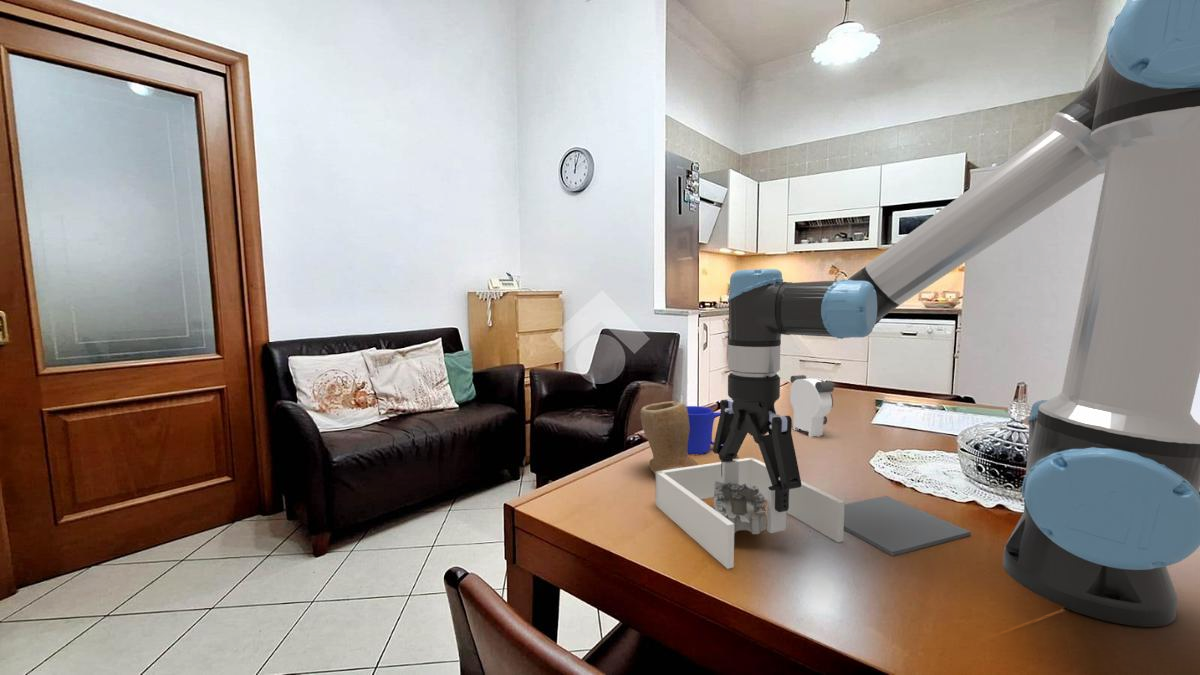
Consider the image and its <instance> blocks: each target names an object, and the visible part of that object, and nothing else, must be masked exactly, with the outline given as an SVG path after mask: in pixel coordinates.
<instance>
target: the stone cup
mask: <svg viewBox="0 0 1200 675" xmlns="http://www.w3.org/2000/svg"><path fill="white" fill-rule="evenodd" d="M640 421H641V422H640V423H641V426H642V430H643V432H644V435H645V437H646V439H647V441H648V444H649V447H650V450H651V453H652V459H650V460H649V462H648V463H649V464H648V465H649V469H650V470H651V471H652V473H654V476H656V471H663V470H670V469H676V468H683V467H690V466H697V465H700V464H699V463H698V462H697V461H696V460H695V459H693V458H691V457H689V454H688V453H687V446H688V438H689V431H690V426H689V417H688V410H687V408H686V404H685V403H684V402H678V401H674V400H672V401H663V402H657V403H656V402H655V403H650V404H647V405H644V406H643V407H642V408H641V409H640Z"/></svg>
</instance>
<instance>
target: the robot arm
mask: <svg viewBox="0 0 1200 675" xmlns="http://www.w3.org/2000/svg"><path fill="white" fill-rule="evenodd" d="M1105 45H1106V46H1105V48H1106V51H1105V54H1104V60H1103V62H1102V67H1101V70H1100V72H1099V73H1098V75H1097V76H1096V77H1095V78H1094V79H1093V81H1092V82H1091V83H1090V84H1089V85H1088V86H1087V87H1086V89H1084V90H1083V91H1082V92H1081V93H1080V94H1079V95H1078V96H1077V97H1076V98H1074V99H1073V100H1072V101H1071V102H1070V103H1068V104H1067V105H1065V107H1063V108H1062V109H1061V110H1059V111H1058V112H1056V113H1055V114H1054V115H1053V118H1052V122H1051V126H1050V128H1049V129H1048V130H1047V131H1046V132H1044V133H1042V134H1041V135H1040V136H1039V137H1037V138H1036V139H1035V140H1033V141H1032V142H1031V143H1029V144H1028V145H1027V146H1025V147H1024V148H1023V149H1021V150H1020V151H1019V152H1017V153H1016V154H1015V155H1014V156H1012V157H1010V158H1009V159H1007V160H1006V161H1004V163H1003V164H1001V165H1000V166H998V167H997V168H995V169H994V170H993V171H991V172H990V173H989V174H987V175H986V176H985V177H984V178H982V179H981V180H979V181H978V182H977V183H976V184H973V186H972V187H970V188H968V190H965V192H963V193H962V194H960V195H959V196H958V197H957V198H955V199H954V200H952V201H951V202H950V203H948V204H947V205H946V206H944V207H942V209H941V210H939V211H938V212H936V213H935V214H934V215H932V216H931V217H929V218H928V219H927V220H925V221H924V222H923V223H922V224H920V225H918V226H917V227H916V228H915V229H913V230H912V231H911V232H909V233H908V234H907V235H905V236H904V237H902V238H901V239H900V240H899V241H897V242H896V243H895V244H893V245H892V246H890V247H889V248H887V250H885V251H884V252H881V254H880V255H878V256H877V257H876V258H874V259H873V260H871V261H870V262H869V263H868V264H866V265H865V266H864V267H863V268H861V269H860V270H858V271H857V272H856V273H854V274H853V275H851V276H850V277H849V278H848V279H838V280H820V281H818V280H817V281H800V282H791V281H784V279H783V274H782V271H781V270H779V269H776V268H759V269H758V268H757V269H755V268H754V269H753V268H752V269H739V270H736V271H734V272H733V273H732V274H731V275H730V276H729V278H730V279H729V288H728V298H727V303H728V344H727V369H728V370H729V371H730V373H729V375H727V396H728V397H729V399H721V400H720V405H719V406H720V407H719V409H720V412H719V413H720V416H719V418H718V422H717V427H716V433H715V436H714V441H713V442H714V445H712V452H713V453H714V454H717V455H718V459H719V460H720V462H721V476H722V483H725V484H728V483H732V484H739V461H737V459H740V457H739V455H738V453H739V451H740V449H741V447H742V445H743V443H744V441H745V439H746V437H747V435H748V434H749V435H750V436H752V438H753V441H754V442H755V443H756V444H758V447H759V450H760V453H761V455H762V459H763V461H764V462H763V463H765V465H766V468H767V471H768V474H769V477H770V480H771V483H772V486H770V487H768V501H767V510H766V512H767V513H766V519H767V524H766V531H767V532H768V533H769V534H774V533H777V532H783V531H786V530H787V512H786V511H788V508H789V490H790V489H794V488H799V487H801V481H802V480H801V479H802V478H801V475H800V474H801V473H800V470H799V469H800V468H799V464H798V460H797V454H796V449H795V444H794V440H793V434H792V428H793V420H792V417H791V415H781V414H780V415H779V414H777V411H776V409H775V403H776V401H778V400H779V399H780V396H781V392H780V391H781V377H780V376H779V375H778V374H777V373H778V372H780V371H781V345H782V343H781V342H782V340H781V338H782V335H784V336H792V335H793V336H807V337H808V336H809V337H823V338H824V337H826V338H828V337H829V338H836V339H841V340H842V339H850V338H865V337H868V336H870V335H871V333H873V329H874V328H875V326H876V325H877V324H879V322H880V321H881V320H882V319H883V318H884V317H885V316H886V315H888V314H890V313H891V312H893V311H894V310H896V309H897V308H898V307H899V306H900V305H903V304H904V303H905V302H907V301H908V300H910V299H911V298H913V297H914V296H916V295H917V294H919V293H920V292H922V291H924V290H925V289H926V288H928V287H930V286H931V285H933V284H934V283H936V282H938V281H939V280H940V279H943V277H945V276H946V275H948V274H949V273H951V272H952V271H954V270H955V269H957V268H958V267H960V266H962V265H963V264H964V263H966V262H967V261H969V260H971V259H972V258H974V257H975V256H977V255H979V254H980V253H981V252H983V251H984V250H986V249H987V248H990V247H991V246H992V245H994V244H996V243H997V242H999V241H1000V240H1002V239H1003V238H1004V237H1006V236H1007V235H1009V234H1010V233H1012V232H1014V231H1015V230H1017V229H1018V228H1019V227H1020V228H1021V226H1023V225H1025V224H1026V223H1028V222H1029V221H1030V220H1032V219H1034V218H1035V217H1037V216H1038V215H1040V214H1041V213H1043V212H1044V211H1045V210H1047V209H1049V208H1050V207H1052V206H1053V205H1055V204H1056V203H1058V202H1060V201H1062V200H1063V199H1064V198H1065V197H1067V196H1069V195H1070V194H1072V193H1074V192H1075V191H1076V190H1078V189H1079V188H1081V187H1082V186H1084V185H1085V184H1088V182H1090V181H1092V180H1093V179H1095V178H1096V177H1098V176H1099V175H1102V174H1103V175H1104V177H1103V181H1102V184H1101V190H1100V197H1099V202H1098V207H1097V211H1096V217H1095V222H1094V225H1093V226H1094V227H1093V232H1092V236H1091V243H1090V246H1089V250H1088V251H1089V253H1088V257H1087V258H1088V259H1087V262H1086V268H1085V273H1084V278H1083V283H1082V288H1081V293H1080V297H1079V301H1078V302H1079V303H1078V307H1077V308H1078V309H1077V313H1076V319H1075V323H1074V329H1073V334H1072V339H1071V344H1070V349H1069V354H1068V358H1067V364H1066V368H1065V369H1066V370H1065V373H1064V374H1065V375H1064V378H1063V385H1062V389H1061V392H1060V393H1059V394H1058V395H1057V396H1055V397H1052V398H1050V399H1049V400H1048V399H1045V400H1043V399H1042V400H1041V399H1040V400H1038V401H1035V402H1034V403H1033V404H1032V406H1031V409H1030V416H1028V418H1027V423H1028V425H1029V428H1028V429H1029V430H1028V441H1027V444H1028V446H1027V457H1026V469H1025V475H1024V478H1023V482H1022V484H1021V495H1022V498H1024V499H1023V504H1024V505H1023V513H1022V514H1021V517H1020V519H1019V520H1018V522H1017V524H1016V525H1015V526H1014V529H1013V531H1012V533H1011V534H1010V536H1009V538H1008V540H1007V542H1006V544H1005V546H1004V547H1003V555H1002V567H1003V568H1004V570H1005V572H1006V573H1007V574H1008V575H1009V576H1010V577H1011V578H1012V579H1013V581H1014V580H1015V581H1016V582H1017V583H1018V584H1019V585H1021V586H1023V587H1024V588H1026V589H1028V590H1029V591H1031V592H1033V593H1034V594H1036V595H1038V596H1039V597H1043V598H1044V599H1047V600H1049V601H1051V602H1052V603H1055V604H1059V605H1060V606H1063V607H1064V609H1066V610H1069V611H1071V612H1075V613H1077V614H1081V615H1083V616H1084V615H1085V616H1088V617H1090V618H1095V619H1098V620H1100V621H1101V620H1102V621H1105V622H1109V623H1114V624H1121V625H1126V626H1133V627H1145V628H1151V627H1152V628H1153V627H1154V628H1155V627H1163V626H1167V625H1171V624H1172V623H1173V622H1174V621H1175V620H1176V619H1177V611H1178V610H1177V609H1178V595H1177V592H1176V589H1175V586H1174V583H1173V580H1172V578H1171V575H1170V572H1169V569H1168V566H1172V565H1175V564H1177V563H1179V562H1182V561H1183V560H1185V559H1187V558H1188V557H1190V556H1192V555H1193V554H1194V553H1195V552H1197V551H1198V549H1199V548H1200V423H1199V422H1198V421H1196V419H1194V417H1193V416H1192V414H1191V412H1192V408H1193V407H1192V406H1193V403H1194V399H1195V394H1196V390H1197V387H1198V386H1197V385H1198V382H1199V378H1200V0H1127V2H1126V3H1125V5H1124V6H1123V7H1122V9H1121V11H1120V12H1119V13H1118V14H1117V15H1116V16H1115V20H1114V22H1113V23H1112V25H1111V26H1110V27H1109V30H1108V33H1107V38H1106V44H1105ZM721 444H723V445H721ZM720 445H721V446H720ZM733 460H734V461H733ZM779 477H780V480H779Z"/></svg>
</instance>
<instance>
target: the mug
mask: <svg viewBox="0 0 1200 675" xmlns="http://www.w3.org/2000/svg"><path fill="white" fill-rule="evenodd" d="M685 406H686V405H685ZM686 408H687V410H688V417H689V426H690V431H689V438H688V446H687V453H689V454H688V455H691V454H702V455H705V454H704V453H706V454H708V453H709V452H710V449H711V445H712V446H713V445H714V441H712V440H713V429H714V427H713V426H714V422H715V419H716V417H720V412H714V410H713V409H712V408H711V407H710V408H709V407H705V406H700V405H699V406H697V405H689V406H688V405H687V406H686ZM721 445H723V444H721ZM721 445H720V446H721ZM707 452H708V453H707Z"/></svg>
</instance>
